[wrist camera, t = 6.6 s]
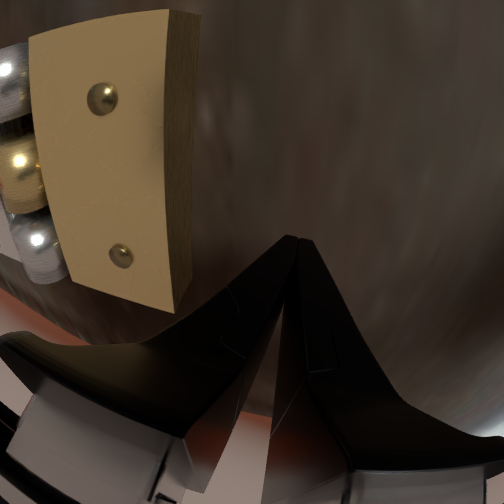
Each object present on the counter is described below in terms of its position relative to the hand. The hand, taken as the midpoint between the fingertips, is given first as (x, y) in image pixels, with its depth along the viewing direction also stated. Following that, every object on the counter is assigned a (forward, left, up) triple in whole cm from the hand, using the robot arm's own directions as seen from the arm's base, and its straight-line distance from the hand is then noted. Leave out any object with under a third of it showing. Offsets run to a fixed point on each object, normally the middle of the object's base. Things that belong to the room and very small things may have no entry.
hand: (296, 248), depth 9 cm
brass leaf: (+9, +5, -4) cm, 11 cm away
